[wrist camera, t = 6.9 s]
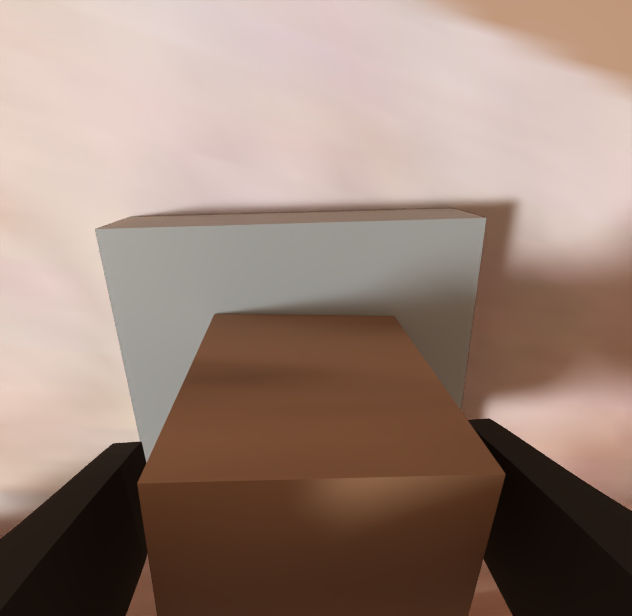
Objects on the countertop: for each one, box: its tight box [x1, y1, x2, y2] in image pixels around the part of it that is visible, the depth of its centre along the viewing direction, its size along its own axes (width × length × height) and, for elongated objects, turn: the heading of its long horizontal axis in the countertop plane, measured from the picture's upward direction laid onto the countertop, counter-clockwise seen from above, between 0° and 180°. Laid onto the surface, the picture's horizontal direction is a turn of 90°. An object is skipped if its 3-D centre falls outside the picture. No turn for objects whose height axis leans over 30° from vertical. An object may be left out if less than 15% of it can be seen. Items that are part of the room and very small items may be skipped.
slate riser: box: [95, 208, 486, 463], centre depth 13 cm, size 10×10×3 cm
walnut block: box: [137, 314, 506, 616], centre depth 9 cm, size 5×5×6 cm
